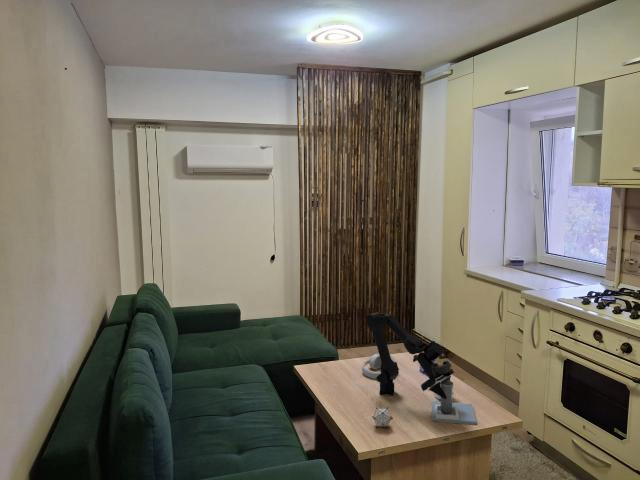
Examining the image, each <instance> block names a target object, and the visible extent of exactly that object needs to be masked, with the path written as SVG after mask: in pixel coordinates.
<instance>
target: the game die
mask: <svg viewBox="0 0 640 480" xmlns="http://www.w3.org/2000/svg"><path fill="white" fill-rule="evenodd" d="M375 409H376V410H375V411H374V414H373V415H372V416H371V418H372V419H373V420H374V422H375V425H376V426H375V428H376V429H377V428H380V427H382V428H383V427H384V428H386V427H387V429H389V428H390V427H389V425H390V423H391V420H394V419H393V418H394V417H392V415H391V414H390V412H389V410H388V409H389V407H388V406H387V407H386V408H378V407H377V406H375Z"/></svg>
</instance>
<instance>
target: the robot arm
mask: <svg viewBox="0 0 640 480" xmlns="http://www.w3.org/2000/svg"><path fill="white" fill-rule="evenodd" d="M365 322H366V325H367V327H368V329H369V330H370V331H371V332H372V333H373V337H374V341H375V345H376V347H377V352H378V354H379V355H380V359H381V366H380V368H379V369H380V370H379V371H380V372H381V374H380V375H378V376H377V377H376V378H377V379H376V381H377V382H378V383H379V393H378V394H379V395H380V396H381V395H382V396H393V395H394V394H395V382H394V380H396V379H397V377H398V376H399V372H400V368H399V367H398V362H397V361H395V362H393V360H392V359H391V357H392V356H391V357H390V355H391V354H390V349H389V346H388V343H387V339H386V336H385V332H384V326H385V325H386V326H387V327H388V328H389V329H390V330H391V331H392V332H393V333H394V335H396V336H397V337H398V339H400V340H401V341H402V343H403V347H404V348H405V350H406V351H407V352H408V353H409V355H413V359H412V362H413V363H415V362H417V363H418V364H419V366H420V365H421V367H422V368H423V370H424V371H423V373H422V374H423V375H425V374H424V373H426V374H427V378H428V379H427V380H426V381H423V383H421V384H420V388H421V390H422V392H425V391H427V390H428V391H430V392H432V393H433V394H434V393H436V394H437V395H439V396H441V397H442V398H444V399H447V397H446V395H445V393H444V392H443V390H442V388H441V386H440V384H441V383H440V382H439V383H438V381H439V380H440V381H443V380H448V381H451V378H452V375H454V373H455V372H454V370H453V369H452V368H451V367H452V364H451V363H450V361H449V360H444V361H443V362H442V364H439V363H438V362H435V363H434V362H433V360H435V361H436V360H437V359H438V358H439V357H441V356H442V355H444V352H445V351H444V347H443V346H442V345H441V344H440V343H438V342H436V341H435V340H432V341H431V342H429V343H426V342H423V340H422V339H420V338H419V337H418V336H416V335H413V334H411V333H410V331H408V330H407V329H406V328H405V327H404V326H403V325H402V324H401V323H400V322H399V321H398V320H397V319H396V318H395V317H394V314H392V313H380V312H374V313H370V314H368V315H366V318H365ZM438 377H439V378H438ZM453 395H454V392H453Z"/></svg>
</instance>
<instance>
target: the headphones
mask: <svg viewBox="0 0 640 480" xmlns="http://www.w3.org/2000/svg"><path fill="white" fill-rule="evenodd" d="M390 357H391V359H392V360H393V362H396V359H395V358H393V357H392V355H391V354H390ZM366 365H369V367H370V368H371V369H373V370H378V369H380V366H381V359H380V355H379V353H374V354H373V355H371V356H370V357H369V359H368V360H366V361H365V362H363V364H362V366H361V371H362V374H363V375H365V377H367V378H369V379H372V380H373V379H374V380H377V378H376V377H377V376H378V375H380V374H381V371H380V372H378V371H377V372H376V371H373V370H369V369H368V368H366Z"/></svg>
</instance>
